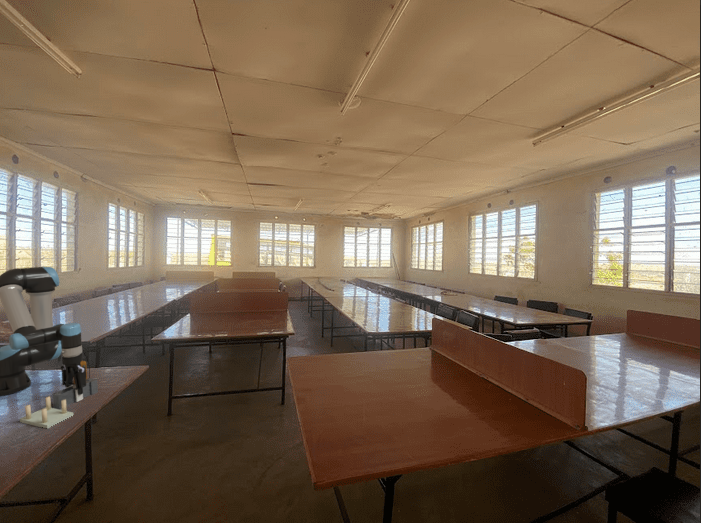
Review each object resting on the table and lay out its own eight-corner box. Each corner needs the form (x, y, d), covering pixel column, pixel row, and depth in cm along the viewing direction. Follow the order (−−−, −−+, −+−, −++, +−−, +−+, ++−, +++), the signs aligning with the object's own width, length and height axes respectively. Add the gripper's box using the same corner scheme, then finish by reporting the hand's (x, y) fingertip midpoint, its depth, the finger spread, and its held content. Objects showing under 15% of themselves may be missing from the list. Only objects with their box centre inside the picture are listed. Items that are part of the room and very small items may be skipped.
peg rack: (19, 422, 136) (18, 406, 136) (46, 409, 146) (45, 394, 145) (47, 428, 132) (46, 412, 132) (73, 415, 142) (72, 400, 141)
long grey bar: (60, 409, 147) (59, 395, 146) (52, 407, 148) (51, 393, 147) (97, 392, 163) (97, 379, 162) (90, 390, 164) (89, 377, 164)
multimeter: (106, 379, 177) (104, 345, 175) (86, 387, 167) (84, 352, 166) (89, 375, 182) (87, 342, 180) (69, 383, 172) (66, 348, 171)
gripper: (50, 355, 152) (53, 400, 154) (77, 359, 147) (80, 406, 149) (67, 350, 159) (70, 393, 161) (94, 353, 154) (96, 398, 156)
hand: (75, 399), depth 155 cm, fingers open, 5 cm apart
